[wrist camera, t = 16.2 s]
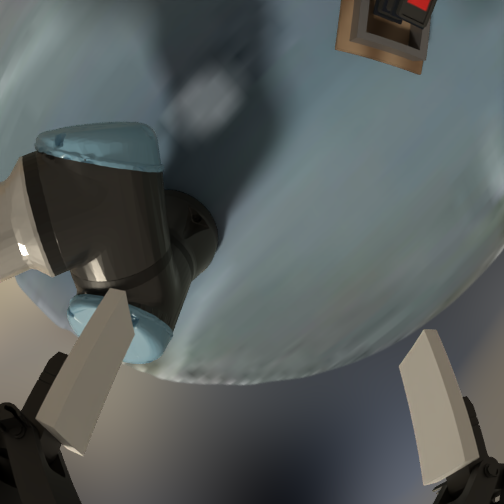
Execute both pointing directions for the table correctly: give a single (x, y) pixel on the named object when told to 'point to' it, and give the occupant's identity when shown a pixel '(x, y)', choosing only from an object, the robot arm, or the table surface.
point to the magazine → (405, 11)
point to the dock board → (378, 28)
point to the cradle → (359, 35)
